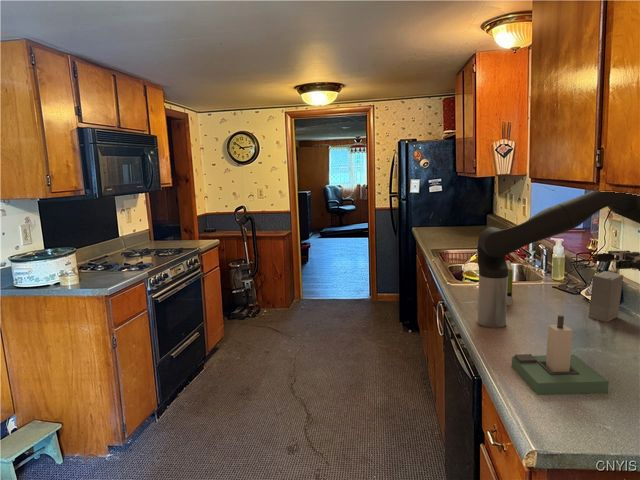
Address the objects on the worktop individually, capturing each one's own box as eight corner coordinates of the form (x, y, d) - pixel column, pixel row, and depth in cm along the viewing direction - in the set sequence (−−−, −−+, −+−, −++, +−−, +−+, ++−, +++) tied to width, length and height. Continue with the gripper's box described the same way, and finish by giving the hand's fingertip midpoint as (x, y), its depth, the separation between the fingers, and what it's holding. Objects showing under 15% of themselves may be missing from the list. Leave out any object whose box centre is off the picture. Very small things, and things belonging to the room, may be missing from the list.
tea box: (484, 293, 189) (485, 258, 187) (509, 294, 186) (511, 260, 183) (484, 304, 176) (485, 267, 173) (512, 306, 172) (513, 268, 170)
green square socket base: (511, 366, 123) (512, 353, 123) (573, 364, 123) (574, 351, 123) (537, 394, 109) (538, 380, 108) (607, 392, 109) (609, 378, 108)
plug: (545, 375, 118) (548, 313, 115) (560, 374, 118) (564, 313, 115) (552, 382, 114) (556, 319, 111) (568, 382, 114) (573, 318, 111)
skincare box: (599, 312, 162) (602, 270, 159) (620, 318, 156) (624, 274, 153) (586, 317, 158) (590, 274, 155) (608, 323, 152) (612, 278, 149)
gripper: (649, 241, 129) (592, 242, 129) (688, 251, 115) (625, 253, 115) (646, 266, 130) (590, 268, 130) (685, 279, 116) (622, 281, 116)
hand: (606, 261), depth 123 cm, fingers open, 8 cm apart
